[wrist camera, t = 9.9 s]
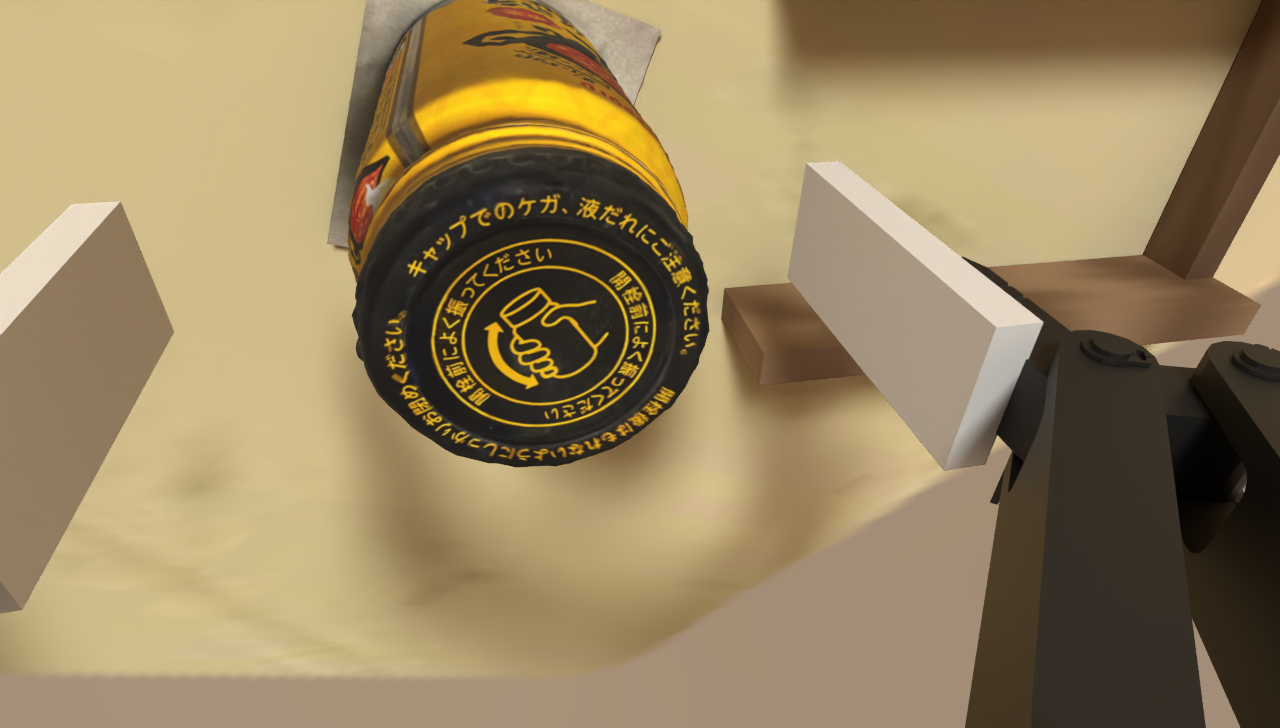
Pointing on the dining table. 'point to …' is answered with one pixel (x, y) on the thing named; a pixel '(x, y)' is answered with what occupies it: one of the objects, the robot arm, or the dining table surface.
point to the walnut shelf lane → (1095, 288)
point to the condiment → (515, 228)
